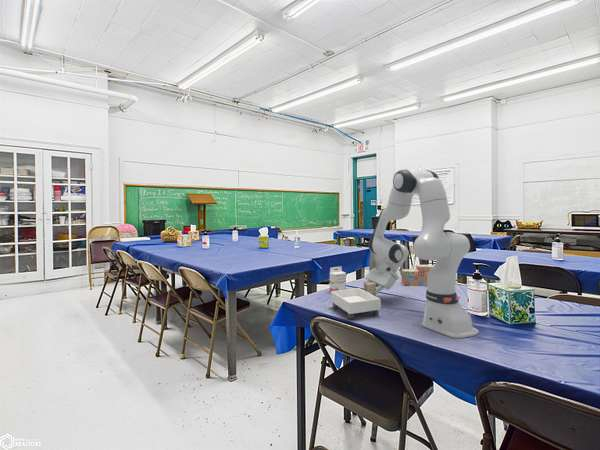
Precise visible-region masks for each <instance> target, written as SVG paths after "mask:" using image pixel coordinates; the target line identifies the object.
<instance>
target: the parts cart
mask: <svg viewBox="0 0 600 450" xmlns="http://www.w3.org/2000/svg"><path fill="white" fill-rule="evenodd" d="M330 302H331V303H332V308H333V309H334V310H335V309H338V308H340V309H342V310H343V311H344V312H347V315H346V316H347V318H348V320H354V318H355V314H359V313H367V312H371V313H372V315H373V316H376V317H377V316H379V313H380V312H379V310H381V307H382V305H381V304H382V303H381V302H382V301H381V298H380V297H377V295H376V296H374V295H372V294H370V293H368V292H366V291H364V289H361V288H359V287H356V288H348V289H347V288H346V290H339V291H331V292H330Z"/></svg>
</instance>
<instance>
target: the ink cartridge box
mask: <svg viewBox="0 0 600 450" xmlns="http://www.w3.org/2000/svg"><path fill="white" fill-rule="evenodd" d="M342 268H343V266H342V265H341V266H334V267H330V268H329V293H331V291H339V290H347V272H345V271H343V269H342Z"/></svg>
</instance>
